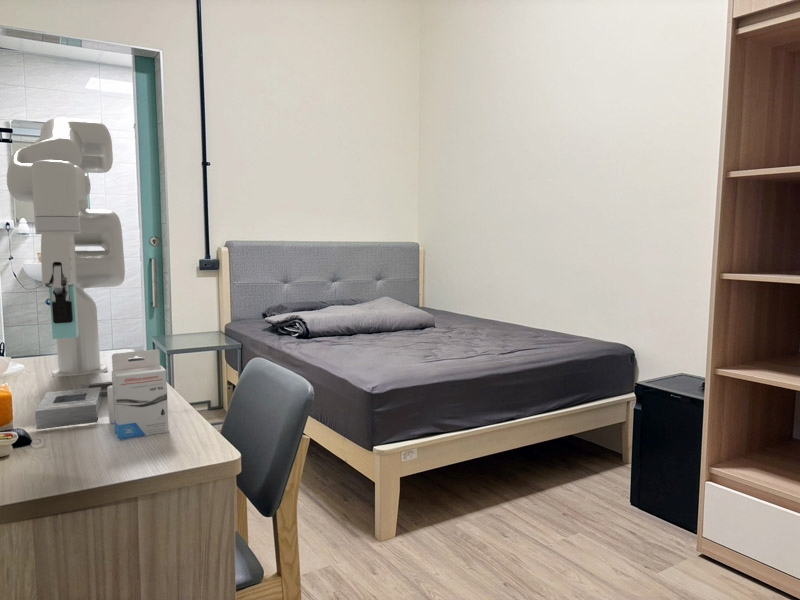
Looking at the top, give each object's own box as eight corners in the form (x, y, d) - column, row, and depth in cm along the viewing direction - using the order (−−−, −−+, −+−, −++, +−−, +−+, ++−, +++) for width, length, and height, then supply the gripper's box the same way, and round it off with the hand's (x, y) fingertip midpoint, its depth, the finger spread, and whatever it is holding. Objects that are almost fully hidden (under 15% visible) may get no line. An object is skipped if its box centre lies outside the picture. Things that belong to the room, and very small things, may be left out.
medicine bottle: (164, 418, 114) (161, 358, 113) (131, 429, 108) (128, 365, 107) (141, 412, 118) (138, 354, 116) (108, 422, 112) (104, 361, 110)
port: (48, 408, 121) (46, 391, 120) (102, 402, 125) (100, 386, 124) (36, 429, 108) (35, 410, 108) (97, 422, 112) (95, 403, 112)
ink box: (118, 441, 102) (113, 358, 100) (114, 433, 106) (109, 353, 104) (170, 432, 106) (166, 352, 105) (164, 424, 110) (160, 348, 109)
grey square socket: (83, 393, 132) (82, 384, 132) (126, 388, 136) (126, 380, 136) (78, 403, 124) (78, 394, 124) (125, 398, 128) (125, 389, 128)
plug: (55, 335, 115) (52, 284, 114) (78, 334, 117) (75, 283, 116) (52, 339, 112) (48, 285, 111) (76, 337, 113) (73, 284, 112)
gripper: (42, 227, 118) (49, 317, 120) (27, 225, 103) (35, 328, 105) (84, 227, 121) (90, 315, 123) (75, 225, 106) (82, 325, 108)
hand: (64, 320), depth 114 cm, fingers closed on plug, 4 cm apart
